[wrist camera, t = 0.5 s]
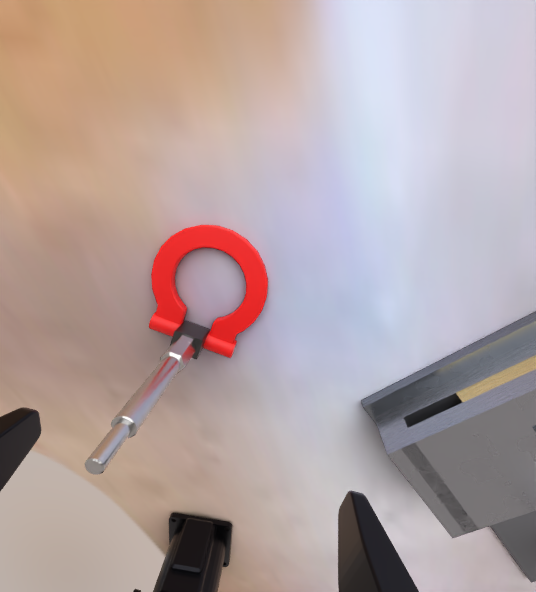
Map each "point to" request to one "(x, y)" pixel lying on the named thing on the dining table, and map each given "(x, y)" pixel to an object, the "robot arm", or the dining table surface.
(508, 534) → the rubber mat
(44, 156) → the dining table surface
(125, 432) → the tow hook
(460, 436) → the windowed slide housing
